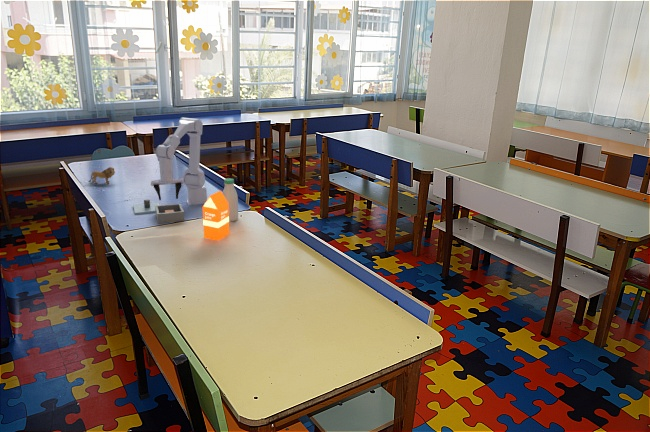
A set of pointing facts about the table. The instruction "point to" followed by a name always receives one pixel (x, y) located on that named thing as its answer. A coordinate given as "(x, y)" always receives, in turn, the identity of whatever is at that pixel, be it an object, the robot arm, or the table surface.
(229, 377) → the table surface
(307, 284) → the table surface
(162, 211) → the storage box
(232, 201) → the milk bottle
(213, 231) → the orange juice
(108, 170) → the lion figurine
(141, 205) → the lid
